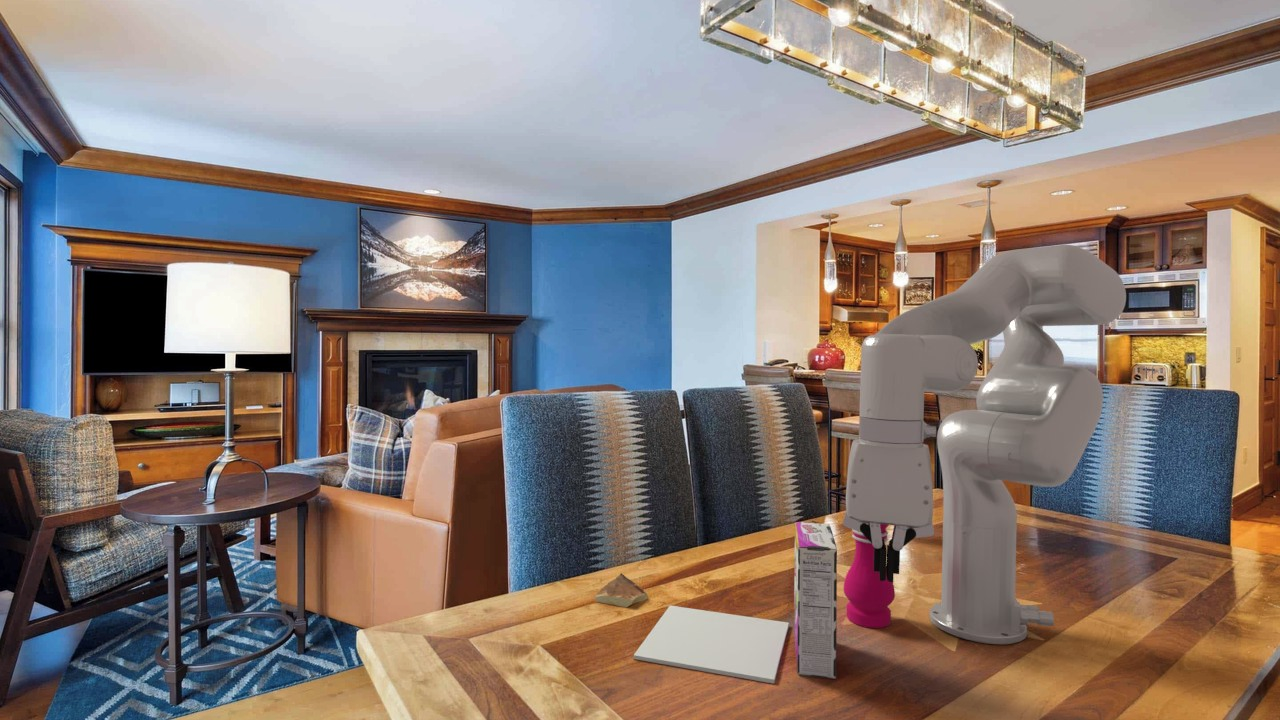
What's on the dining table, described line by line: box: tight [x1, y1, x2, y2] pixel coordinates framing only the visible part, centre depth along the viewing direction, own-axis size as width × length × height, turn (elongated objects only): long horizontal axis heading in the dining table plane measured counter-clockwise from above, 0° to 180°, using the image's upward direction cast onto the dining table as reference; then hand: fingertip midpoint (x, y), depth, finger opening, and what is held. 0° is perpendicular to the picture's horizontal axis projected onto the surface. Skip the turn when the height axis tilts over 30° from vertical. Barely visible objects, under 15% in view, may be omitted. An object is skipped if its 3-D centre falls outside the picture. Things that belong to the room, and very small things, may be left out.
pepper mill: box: [843, 523, 896, 629], centre depth 97 cm, size 7×7×20 cm
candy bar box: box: [793, 521, 838, 680], centre depth 85 cm, size 11×5×16 cm, turn 168°
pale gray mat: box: [633, 605, 790, 684], centre depth 89 cm, size 18×17×1 cm
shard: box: [594, 572, 649, 608], centre depth 106 cm, size 11×8×2 cm
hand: (885, 577), depth 81 cm, fingers closed
